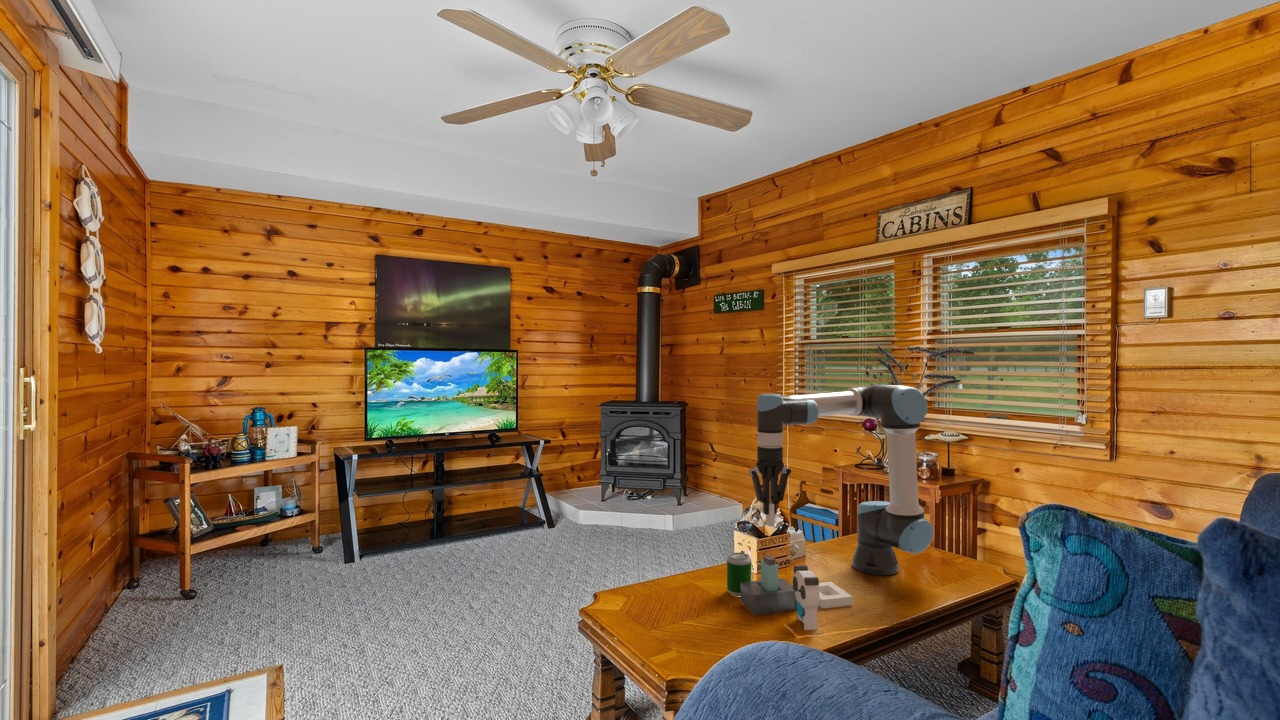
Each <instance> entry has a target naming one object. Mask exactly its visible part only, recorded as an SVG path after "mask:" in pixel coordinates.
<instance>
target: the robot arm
mask: <svg viewBox="0 0 1280 720" xmlns="http://www.w3.org/2000/svg"><path fill="white" fill-rule="evenodd" d="M756 401H757V404H756V429H757V431H756V438H757V439H756V440H757V441H756V443H757V445H758V446H757V447H756V452H757V453H756V459H757V461H756V464H755V467H754V468H753V469H749V470H748V474H749V475H750V476H751V479H752V483H753V487H754V491H755V496H756V500H757V501H758V502H760V503H762V512H763V514H764V515H765V525H767V526H769V527H775V515H777V513H778V504H780V503H779V502H783V500H784V497H785V492H786V487H787V484H788V479H789V476H790V474H791V473H792V470H791V468H789V467H787V466H785V463H784V462H783V460H784V448H783V447H782V446H783V445H784V426H792V425H793V426H794V425H797V426H798V425H810V424H814V423H816V421H817V420H818V418H819V417H823V416H824V417H825V416H835V415H836V416H837V415H847V414H848V415H849V416H851V417H868V418H872V419H873V418H874V419H879V420H880V423H881V424H880V427H881V428H882V429H883V430H884V431H885V432H886V445H887V447H886V448H887V463H888V464H887V466H888V469H887V470H888V485H889V501H884V500H883V501H882V500H873V501H864V502H861V503H859V504H858V507H857V513H856V519H857V520H856V521H857V523H856V524H857V545H856V547H855V551H854V553H853V556H852V561H851V564H852V567H853V569H855V570H857V571H859V572H861V573H865V574H869V575H875V576H891V575H896V574H897V573H898V572H899V562H898V559H897V554H896V552H895V549H894V548H897V549H899V550H901V551H902V552H905V553H906V552H907V553H910V554H920V553H922V552H924V551H925V550H926V549H927V548H928V547H929V546H930V545H931V543H932V540H933V537H934V528H933V525H932V524H931V523H930V521H929V520H927V519H925V510H924V508H923V507H922V506H920V505H919V489H918V488H919V486H918V484H919V483H918V465H917V446H916V445H917V444H916V432H917V431H918V430H919V429H920V428H921V423H922V422H923V421H924V420H925V419H926V418H925V416H927V414H928V402H927V399H926V397H925V396H924V394H923V393H922V392H921V391H920V390H919V389H917V387H916V388H915V387H913V386H912V387H911V386H907V385H892V384H872V385H871V384H870V385H865V386H857V387H849V388H847V389H846V390H845V391H834V392H833V391H832V392H822V393H821V392H820V393H805V394H804V393H803V394H794V395H782V394H780V393H779V394H778V393H760V394H759V395H758V396H757V400H756ZM759 474H760V475H761V480H762V485H761V482H760V481H761V480H760V477H759ZM779 475H780V477H779Z"/></svg>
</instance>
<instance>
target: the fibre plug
mask: <svg viewBox="0 0 1280 720" xmlns="http://www.w3.org/2000/svg"><path fill="white" fill-rule="evenodd" d="M762 557H763V560H760V580H761V587H762V588H763V589H764V590H765V591H766V592H768V591H778V579H779V565H778V564H777V563H776V560H777V559H776V558H775V557H774V556H771V555H763V556H762Z"/></svg>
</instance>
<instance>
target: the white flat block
mask: <svg viewBox="0 0 1280 720" xmlns="http://www.w3.org/2000/svg"><path fill="white" fill-rule="evenodd" d="M818 586H819V606H818V607H820V608H821V609H830V608H831V609H832V608H839V607H840V608H841V607H848V606H853V605H854V604H853V603H854V601H853V598H854V597H853V595H851V594H850V593H848V592H846V591H845V590H844V589H843V588H841V587H839V586H838V585H836V584H835V583H834V582H832V581H828V582H827V581H826V582H819V585H818Z"/></svg>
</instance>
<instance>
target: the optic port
mask: <svg viewBox="0 0 1280 720" xmlns="http://www.w3.org/2000/svg"><path fill="white" fill-rule="evenodd" d="M795 600H796V596H795V591H794V589H793V584H792V583H790V582H788V581H787V580H786V579H785V578H784V577H781V578H778V591H768V592H766V591H765V590H764V589H763V588H762V587H761V579H760V580H751V581H748V582H741V597H740V603H741V602H742V603H743V604H744V605H745V606H746V607H747V608H748V609H749V610H750V611H751V612H752V613H753V614H754V615H757V616H765V615H774V614H773V613H779V612H780V613H781V612H787V611H797V610H796V608H795ZM742 603H741V604H742ZM796 603H797V602H796ZM743 604H742V605H743ZM744 605H743V606H744ZM745 606H744V607H745ZM746 607H745V608H746ZM747 608H746V609H747ZM748 609H747V610H748ZM749 610H748V611H749ZM750 611H749V612H750ZM751 612H750V613H751ZM752 613H751V614H752ZM753 614H752V615H753ZM763 614H765V615H763ZM754 615H753V616H754Z"/></svg>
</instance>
